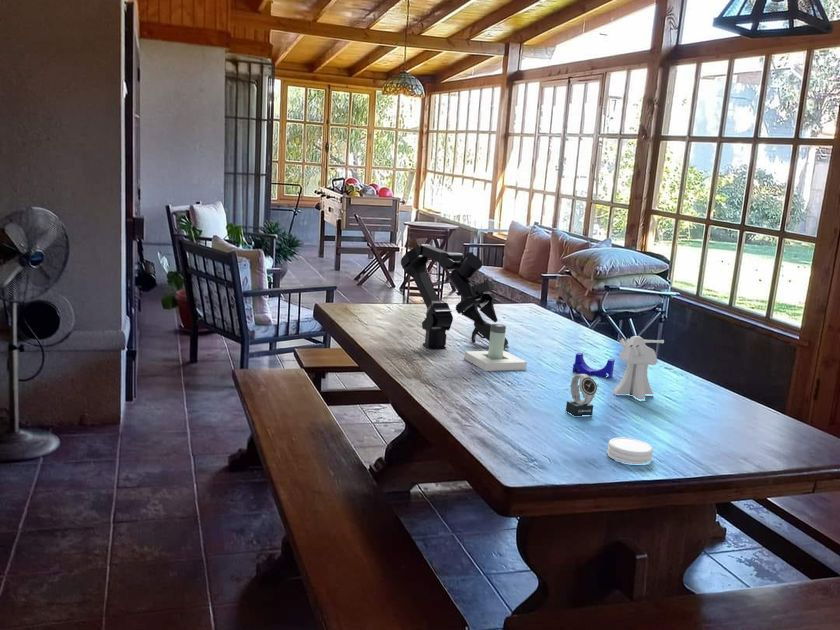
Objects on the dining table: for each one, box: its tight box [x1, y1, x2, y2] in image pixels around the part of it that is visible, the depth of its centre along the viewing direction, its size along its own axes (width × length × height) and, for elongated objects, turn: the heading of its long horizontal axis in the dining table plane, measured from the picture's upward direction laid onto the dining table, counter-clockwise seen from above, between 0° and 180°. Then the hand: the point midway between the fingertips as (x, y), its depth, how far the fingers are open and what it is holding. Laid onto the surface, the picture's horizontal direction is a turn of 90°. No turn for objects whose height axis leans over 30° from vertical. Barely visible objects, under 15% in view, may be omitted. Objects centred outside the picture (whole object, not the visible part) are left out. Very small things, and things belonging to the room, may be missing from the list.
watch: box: [565, 373, 598, 416], centre depth 206 cm, size 6×8×11 cm
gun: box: [471, 320, 510, 350], centre depth 280 cm, size 3×16×10 cm, turn 53°
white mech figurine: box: [612, 335, 665, 399], centre depth 229 cm, size 12×13×18 cm
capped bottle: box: [487, 323, 507, 360], centre depth 253 cm, size 5×5×13 cm
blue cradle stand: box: [572, 352, 616, 379], centre depth 251 cm, size 12×4×6 cm, turn 62°
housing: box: [463, 350, 528, 372], centre depth 254 cm, size 15×15×2 cm
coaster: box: [606, 437, 654, 464], centre depth 177 cm, size 10×10×4 cm
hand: (490, 323), depth 253 cm, fingers open, 9 cm apart
